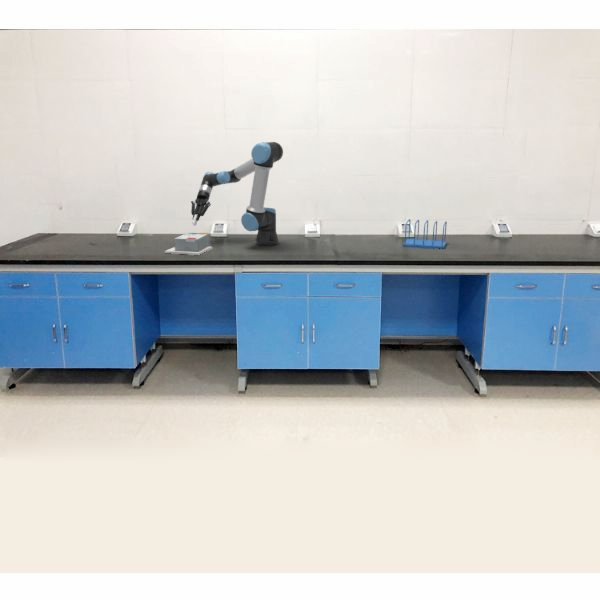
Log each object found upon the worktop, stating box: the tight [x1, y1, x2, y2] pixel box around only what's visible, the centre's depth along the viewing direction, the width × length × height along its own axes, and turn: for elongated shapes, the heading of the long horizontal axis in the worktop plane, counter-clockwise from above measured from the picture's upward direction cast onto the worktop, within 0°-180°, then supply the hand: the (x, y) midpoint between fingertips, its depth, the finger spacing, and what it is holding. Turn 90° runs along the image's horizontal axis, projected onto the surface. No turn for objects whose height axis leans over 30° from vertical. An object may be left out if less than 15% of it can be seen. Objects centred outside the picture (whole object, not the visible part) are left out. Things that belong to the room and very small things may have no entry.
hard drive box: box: [173, 232, 212, 251], centre depth 359 cm, size 16×8×20 cm
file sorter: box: [402, 218, 447, 250], centre depth 372 cm, size 25×17×15 cm
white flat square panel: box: [164, 245, 213, 256], centre depth 358 cm, size 22×20×2 cm
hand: (193, 224), depth 361 cm, fingers closed
